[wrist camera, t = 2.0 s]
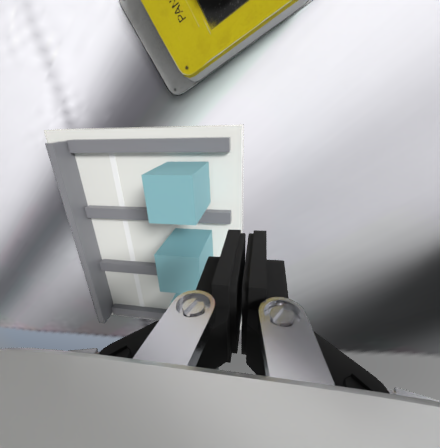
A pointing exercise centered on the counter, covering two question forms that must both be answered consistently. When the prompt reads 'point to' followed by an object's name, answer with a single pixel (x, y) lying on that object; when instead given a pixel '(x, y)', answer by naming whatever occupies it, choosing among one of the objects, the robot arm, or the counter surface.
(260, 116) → the counter surface
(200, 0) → the emergency button
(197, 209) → the teal rectangular block
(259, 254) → the robot arm
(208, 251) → the light teal block
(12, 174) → the counter surface
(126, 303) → the white ridged tray
